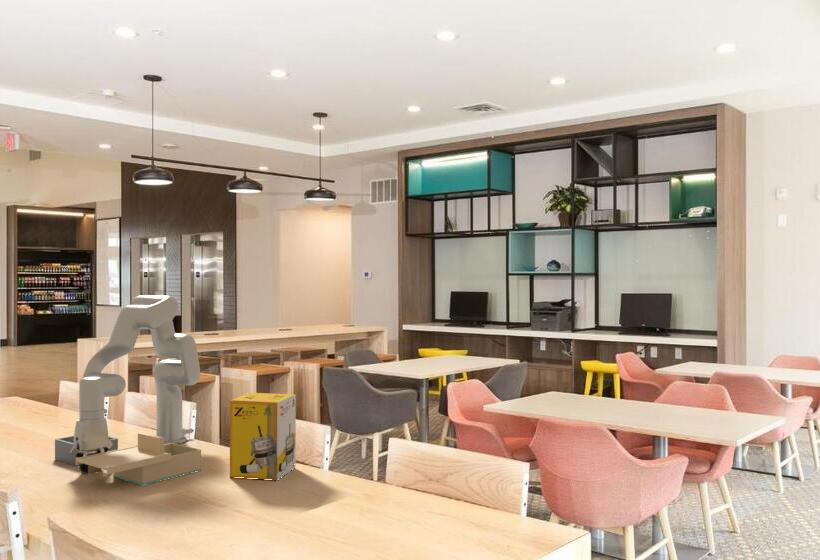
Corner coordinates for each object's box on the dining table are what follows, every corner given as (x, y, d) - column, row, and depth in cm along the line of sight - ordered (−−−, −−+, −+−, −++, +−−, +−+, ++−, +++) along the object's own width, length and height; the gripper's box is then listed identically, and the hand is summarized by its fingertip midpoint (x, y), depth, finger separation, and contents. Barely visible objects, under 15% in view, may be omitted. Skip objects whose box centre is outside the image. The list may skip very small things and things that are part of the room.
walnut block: (94, 469, 254) (94, 451, 254) (101, 471, 251) (101, 453, 251) (81, 472, 250) (81, 453, 250) (88, 474, 247) (88, 456, 247)
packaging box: (277, 481, 241) (277, 402, 241) (229, 478, 244) (229, 400, 244) (295, 468, 257) (295, 394, 256) (250, 465, 260) (250, 392, 260)
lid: (138, 451, 253) (138, 430, 253) (171, 459, 242) (171, 438, 242) (75, 464, 235) (75, 442, 235) (107, 474, 225) (107, 451, 225)
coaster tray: (92, 451, 278) (92, 432, 278) (118, 458, 268) (118, 438, 268) (54, 459, 266) (54, 439, 266) (79, 466, 256) (79, 446, 256)
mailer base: (171, 463, 262) (171, 442, 262) (201, 470, 253) (201, 449, 252) (113, 476, 245) (113, 455, 245) (142, 485, 235) (142, 462, 235)
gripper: (109, 409, 259) (108, 463, 259) (60, 417, 246) (60, 473, 246) (121, 412, 255) (121, 466, 255) (73, 420, 241) (73, 477, 241)
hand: (91, 469), depth 250 cm, fingers open, 4 cm apart
